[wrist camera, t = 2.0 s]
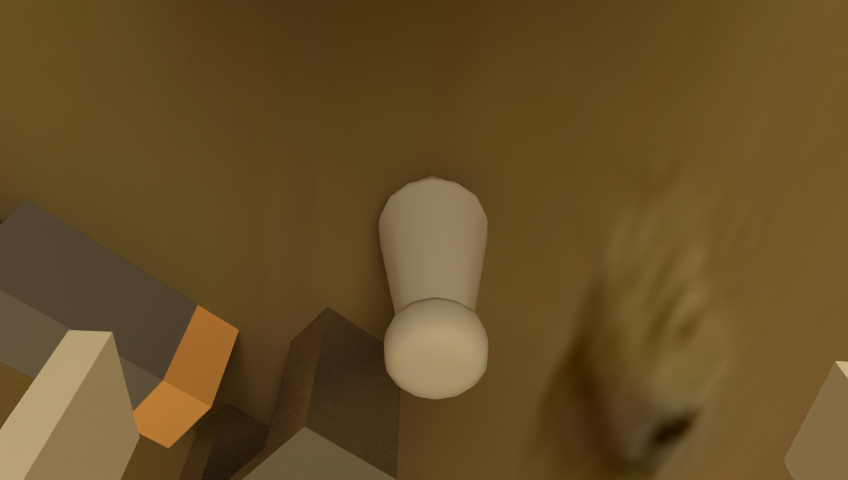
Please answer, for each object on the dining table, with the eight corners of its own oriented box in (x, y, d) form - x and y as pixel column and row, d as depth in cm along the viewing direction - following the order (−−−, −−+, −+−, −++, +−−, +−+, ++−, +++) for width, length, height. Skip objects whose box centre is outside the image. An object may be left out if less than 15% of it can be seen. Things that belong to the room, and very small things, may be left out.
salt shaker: (407, 143, 35) (400, 292, 24) (502, 184, 36) (537, 342, 25) (365, 229, 38) (342, 397, 27) (455, 264, 39) (468, 438, 28)
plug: (-59, 219, 38) (-141, 288, 32) (-27, 166, 36) (-109, 229, 30) (200, 369, 44) (168, 448, 38) (238, 330, 42) (211, 407, 36)
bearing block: (196, 431, 47) (149, 558, 39) (327, 307, 41) (304, 426, 33) (267, 469, 49) (236, 596, 41) (401, 356, 43) (396, 479, 35)
